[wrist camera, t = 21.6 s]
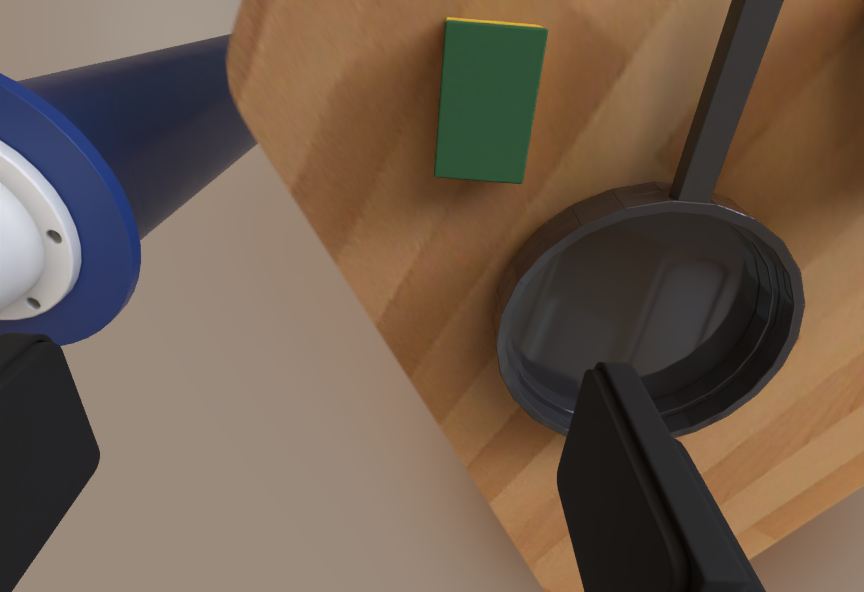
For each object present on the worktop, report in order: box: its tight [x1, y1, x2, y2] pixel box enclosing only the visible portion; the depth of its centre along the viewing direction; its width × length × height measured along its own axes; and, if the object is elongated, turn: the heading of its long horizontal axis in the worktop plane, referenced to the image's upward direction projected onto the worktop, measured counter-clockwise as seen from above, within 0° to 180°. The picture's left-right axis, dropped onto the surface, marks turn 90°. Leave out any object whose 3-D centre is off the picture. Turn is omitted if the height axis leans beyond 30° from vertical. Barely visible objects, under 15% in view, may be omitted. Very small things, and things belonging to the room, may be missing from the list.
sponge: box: [434, 17, 548, 184], centre depth 25 cm, size 4×7×3 cm, turn 176°
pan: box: [493, 182, 805, 438], centre depth 32 cm, size 17×17×4 cm
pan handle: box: [670, 0, 784, 203], centre depth 24 cm, size 2×11×1 cm, turn 176°
